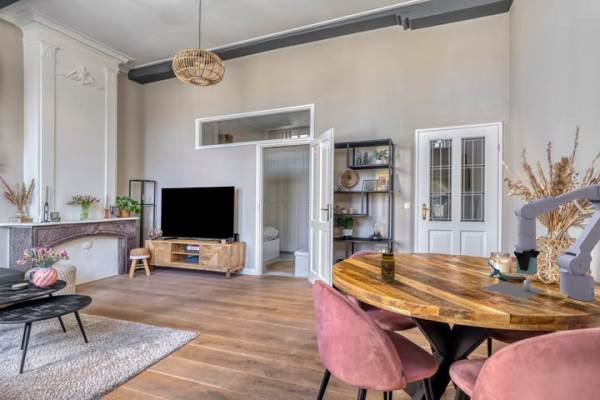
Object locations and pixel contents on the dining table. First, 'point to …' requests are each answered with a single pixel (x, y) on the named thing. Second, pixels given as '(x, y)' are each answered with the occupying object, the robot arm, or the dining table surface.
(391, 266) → the condiment
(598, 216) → the robot arm
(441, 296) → the dining table surface
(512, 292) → the post board
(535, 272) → the teal block
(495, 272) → the teal bent piece
